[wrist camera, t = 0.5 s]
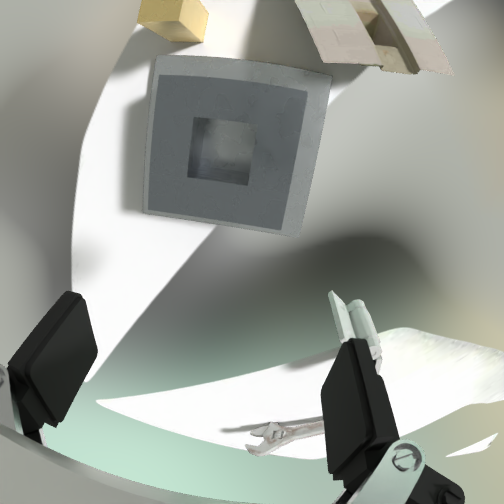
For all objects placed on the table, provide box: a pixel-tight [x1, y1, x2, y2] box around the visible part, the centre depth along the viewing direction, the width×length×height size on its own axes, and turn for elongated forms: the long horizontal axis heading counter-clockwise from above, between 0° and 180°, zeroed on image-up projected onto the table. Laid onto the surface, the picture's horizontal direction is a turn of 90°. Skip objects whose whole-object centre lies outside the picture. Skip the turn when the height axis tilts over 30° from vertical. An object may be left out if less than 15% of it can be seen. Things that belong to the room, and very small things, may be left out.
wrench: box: [245, 420, 325, 456], centre depth 55 cm, size 8×2×30 cm
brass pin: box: [137, 0, 209, 42], centre depth 23 cm, size 4×4×10 cm
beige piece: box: [294, 0, 454, 76], centre depth 24 cm, size 16×9×15 cm
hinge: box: [328, 291, 382, 375], centre depth 40 cm, size 14×5×10 cm, turn 19°
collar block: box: [143, 55, 332, 238], centre depth 30 cm, size 20×20×7 cm
